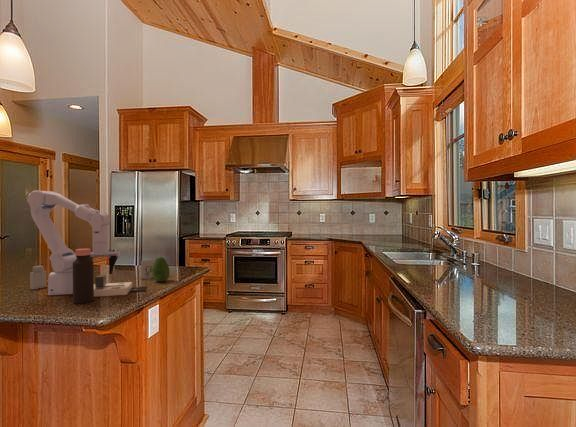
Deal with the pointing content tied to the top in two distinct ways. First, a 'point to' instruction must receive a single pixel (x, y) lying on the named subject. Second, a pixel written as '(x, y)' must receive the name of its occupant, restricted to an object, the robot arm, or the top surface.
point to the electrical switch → (147, 269)
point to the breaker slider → (100, 281)
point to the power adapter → (37, 277)
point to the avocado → (160, 270)
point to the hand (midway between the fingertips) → (100, 274)
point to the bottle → (83, 277)
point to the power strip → (117, 289)
